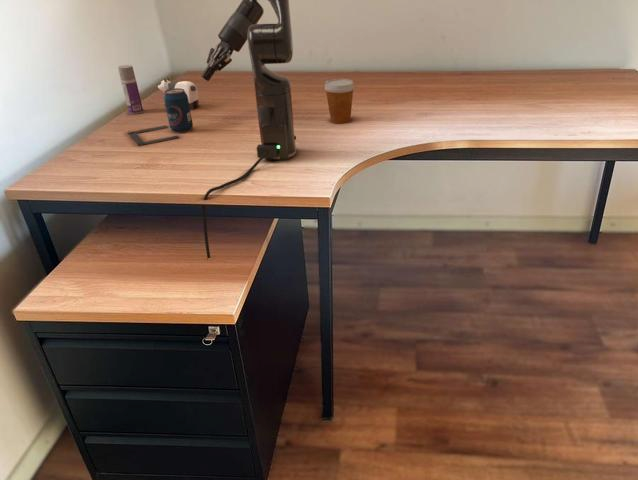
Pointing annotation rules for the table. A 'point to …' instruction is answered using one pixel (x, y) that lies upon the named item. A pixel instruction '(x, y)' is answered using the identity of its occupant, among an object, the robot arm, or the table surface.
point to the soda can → (178, 110)
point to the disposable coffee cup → (339, 99)
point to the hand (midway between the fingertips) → (204, 78)
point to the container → (130, 89)
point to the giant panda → (188, 88)
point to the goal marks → (140, 141)
